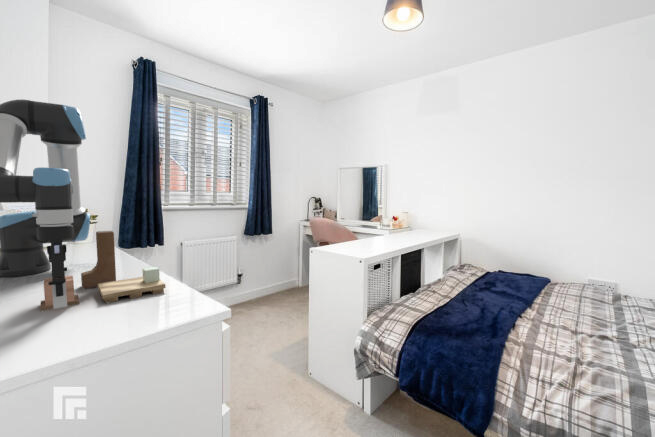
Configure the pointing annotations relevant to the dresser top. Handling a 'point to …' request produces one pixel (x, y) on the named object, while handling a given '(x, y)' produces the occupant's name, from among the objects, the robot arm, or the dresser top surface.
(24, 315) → the dresser top surface
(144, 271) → the pale green cube
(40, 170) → the robot arm
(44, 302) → the pink slab on base
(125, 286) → the wooden pallet
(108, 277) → the wooden block
